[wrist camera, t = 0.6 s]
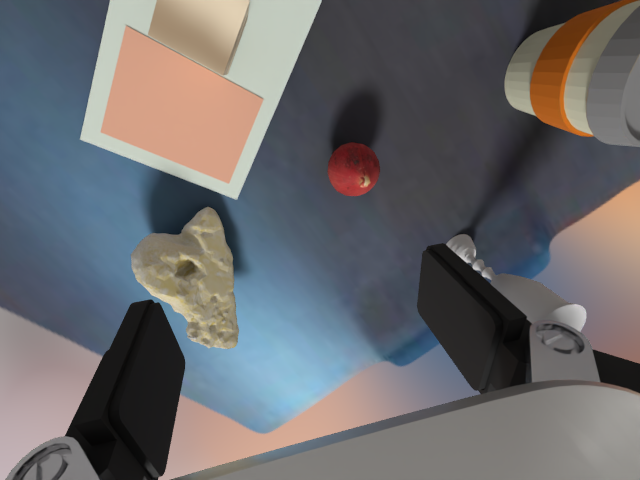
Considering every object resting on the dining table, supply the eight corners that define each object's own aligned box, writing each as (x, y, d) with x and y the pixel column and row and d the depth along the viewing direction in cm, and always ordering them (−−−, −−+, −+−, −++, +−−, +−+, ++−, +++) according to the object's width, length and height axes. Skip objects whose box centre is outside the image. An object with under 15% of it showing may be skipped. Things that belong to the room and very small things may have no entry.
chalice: (433, 241, 47) (527, 324, 32) (473, 220, 47) (587, 293, 32) (443, 274, 51) (531, 363, 36) (480, 255, 51) (585, 335, 35)
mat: (144, -146, 23) (142, -151, 23) (325, -11, 30) (327, -12, 29) (82, 138, 31) (79, 139, 31) (236, 198, 37) (236, 200, 37)
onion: (316, 145, 37) (333, 162, 30) (361, 130, 37) (389, 144, 30) (327, 190, 40) (345, 215, 33) (369, 176, 40) (396, 198, 33)
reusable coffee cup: (564, -21, 34) (761, -75, 21) (595, 72, 40) (763, 73, 27) (473, 71, 37) (600, 72, 24) (515, 145, 43) (634, 178, 30)
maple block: (192, -14, 27) (170, -52, 19) (247, 20, 29) (249, 0, 21) (175, 45, 29) (147, 35, 20) (227, 74, 31) (222, 75, 22)
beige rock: (146, 190, 37) (82, 316, 32) (177, 185, 32) (108, 330, 28) (242, 242, 48) (205, 341, 43) (275, 243, 43) (237, 354, 39)
